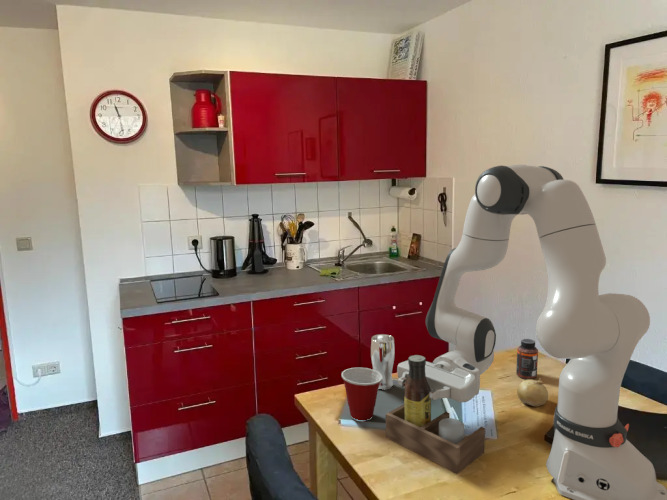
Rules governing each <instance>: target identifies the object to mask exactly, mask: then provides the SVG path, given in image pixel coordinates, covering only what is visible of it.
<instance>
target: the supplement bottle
mask: <svg viewBox="0 0 667 500" xmlns="http://www.w3.org/2000/svg"><path fill="white" fill-rule="evenodd" d="M516 351H517V352H516V369H515V370H516V375H517V376H518V377H519V378H521V379H524V380H528V379H529V380H535V378H537V376H538V362H539V361H538V360H539V349H538V348H537V347H536V341H535V340H534V339H531V338H522V339H521V341H520V345H518V346H517V350H516Z"/></svg>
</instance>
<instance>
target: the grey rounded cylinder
mask: <svg viewBox="0 0 667 500" xmlns="http://www.w3.org/2000/svg"><path fill="white" fill-rule="evenodd" d="M439 437H442V438H444V439H446V440H448V441H450V442H452V443H454V444H458V443H459V442H460V441H462V440H463V439H465V424H464V422H463V421H461V420H460V419H456V418H450V417H449V418H446V419H442V420H441V421H440V422H439Z"/></svg>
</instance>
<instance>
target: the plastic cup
mask: <svg viewBox="0 0 667 500" xmlns="http://www.w3.org/2000/svg"><path fill="white" fill-rule="evenodd" d="M341 378H342V381H343V385H344V388H345V389H344V390H345V394H346V400H347V406H348V408H349V414H350V417H351V416H352V417H353V418H355V419H358V420H367V419H370V418H371V417H372V416H374V412H375V407H376V401H377V397H378V396H377V395H378V391H379V390H378V388H379V385H380V382H381V380H382V379H383V377H382V374H380V373H379V372H378V371H375V370H373V368H372V369H371V368H368V367H351V368H347V369H344V370H343V371H341ZM372 418H373V417H372Z"/></svg>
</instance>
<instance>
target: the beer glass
mask: <svg viewBox="0 0 667 500" xmlns="http://www.w3.org/2000/svg"><path fill="white" fill-rule="evenodd" d="M370 340H371V342H370V343H371V344H370V358H371V364H372V369H373V370H375V371H378V372H379V373H380V374H382V377H383V379H382V380H381V382H380V385H379V388H378V389H382V390H381V391H387V390H386V389H388V390H390V389H389V388H391V387H392V386H393V387H394V382H393V375H392V374H393V367H394V361H395V338H394V336H392V335H389V334H384V333H382V334H381V333H380V334H375V335H373V336H371V339H370ZM393 387H392V388H393ZM392 388H391V389H392ZM384 389H385V390H384Z"/></svg>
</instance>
